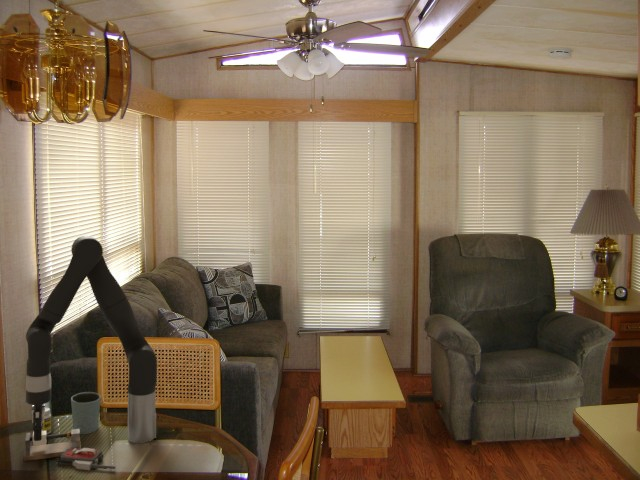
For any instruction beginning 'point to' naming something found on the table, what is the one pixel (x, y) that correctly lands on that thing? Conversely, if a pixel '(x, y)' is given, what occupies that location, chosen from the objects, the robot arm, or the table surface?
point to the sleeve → (43, 440)
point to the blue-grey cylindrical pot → (85, 411)
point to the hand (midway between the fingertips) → (38, 434)
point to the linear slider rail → (51, 446)
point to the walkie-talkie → (83, 458)
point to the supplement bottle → (47, 421)
